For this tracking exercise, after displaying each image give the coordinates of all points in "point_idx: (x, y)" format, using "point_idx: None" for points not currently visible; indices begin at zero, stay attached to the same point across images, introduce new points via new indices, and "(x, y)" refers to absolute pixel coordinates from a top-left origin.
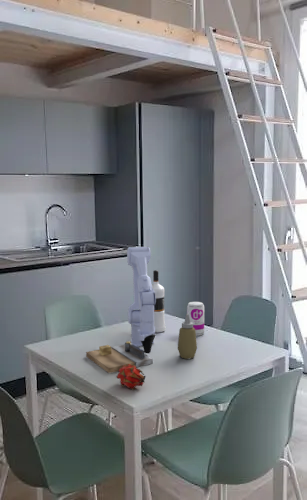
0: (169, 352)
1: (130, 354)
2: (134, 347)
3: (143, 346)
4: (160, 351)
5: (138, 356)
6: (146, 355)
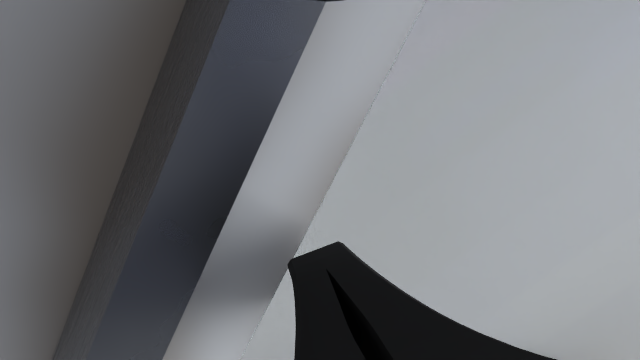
0: (604, 249)
1: (124, 41)
2: (126, 257)
3: (298, 351)
4: (612, 156)
5: (76, 299)
6: (266, 283)
